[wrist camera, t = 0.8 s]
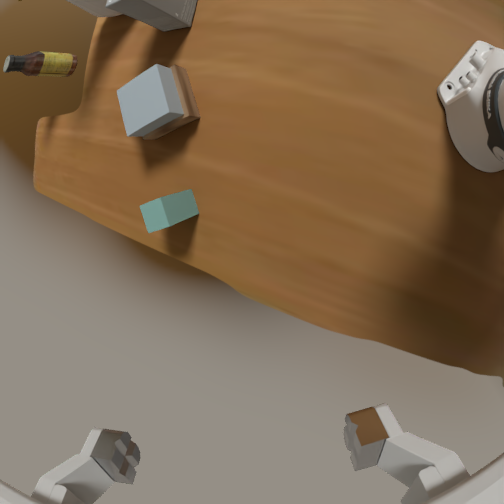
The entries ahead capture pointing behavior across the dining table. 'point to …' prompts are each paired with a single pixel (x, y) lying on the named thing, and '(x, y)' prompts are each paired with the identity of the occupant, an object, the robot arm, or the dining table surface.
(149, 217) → the teal block
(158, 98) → the grey block
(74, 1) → the soap bottle
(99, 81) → the dining table surface
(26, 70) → the sauce bottle
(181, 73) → the walnut block
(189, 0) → the skincare box
